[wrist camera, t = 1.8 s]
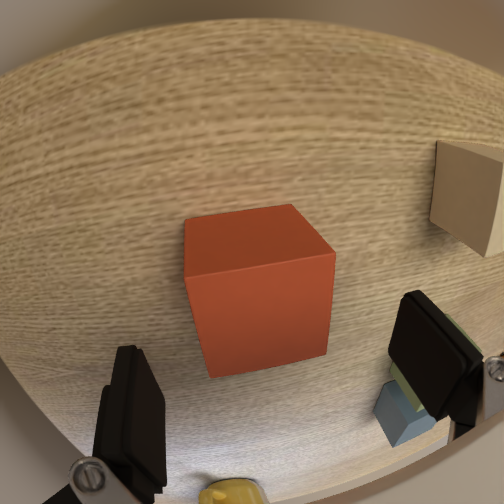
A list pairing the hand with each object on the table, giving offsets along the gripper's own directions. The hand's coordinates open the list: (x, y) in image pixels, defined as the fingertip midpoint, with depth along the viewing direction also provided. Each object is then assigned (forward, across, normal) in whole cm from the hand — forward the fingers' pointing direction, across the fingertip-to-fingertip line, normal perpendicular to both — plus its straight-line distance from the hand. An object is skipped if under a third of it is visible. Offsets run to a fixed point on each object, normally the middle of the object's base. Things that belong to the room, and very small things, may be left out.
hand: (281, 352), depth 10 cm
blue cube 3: (+6, -14, +18) cm, 23 cm away
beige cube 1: (+6, -14, -4) cm, 15 cm away
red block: (+6, 0, 0) cm, 6 cm away
